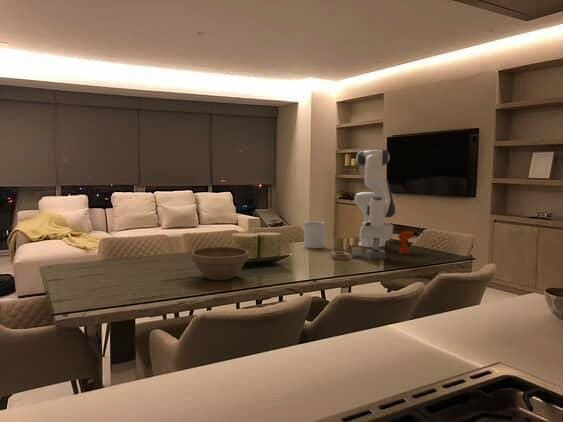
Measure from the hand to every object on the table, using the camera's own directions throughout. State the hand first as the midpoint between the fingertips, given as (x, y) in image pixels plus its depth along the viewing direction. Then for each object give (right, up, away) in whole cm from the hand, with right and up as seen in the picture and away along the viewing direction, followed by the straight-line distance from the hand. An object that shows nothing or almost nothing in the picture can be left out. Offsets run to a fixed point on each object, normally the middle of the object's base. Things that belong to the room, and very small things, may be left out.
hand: (375, 245), depth 285 cm
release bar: (-12, -8, +1) cm, 14 cm away
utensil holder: (-36, -5, +40) cm, 54 cm away
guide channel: (-12, -7, +4) cm, 15 cm away
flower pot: (-90, -12, -55) cm, 106 cm away
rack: (-23, -8, -2) cm, 24 cm away
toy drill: (+27, -7, +17) cm, 33 cm away
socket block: (0, -8, +1) cm, 8 cm away
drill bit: (0, -8, +1) cm, 8 cm away
